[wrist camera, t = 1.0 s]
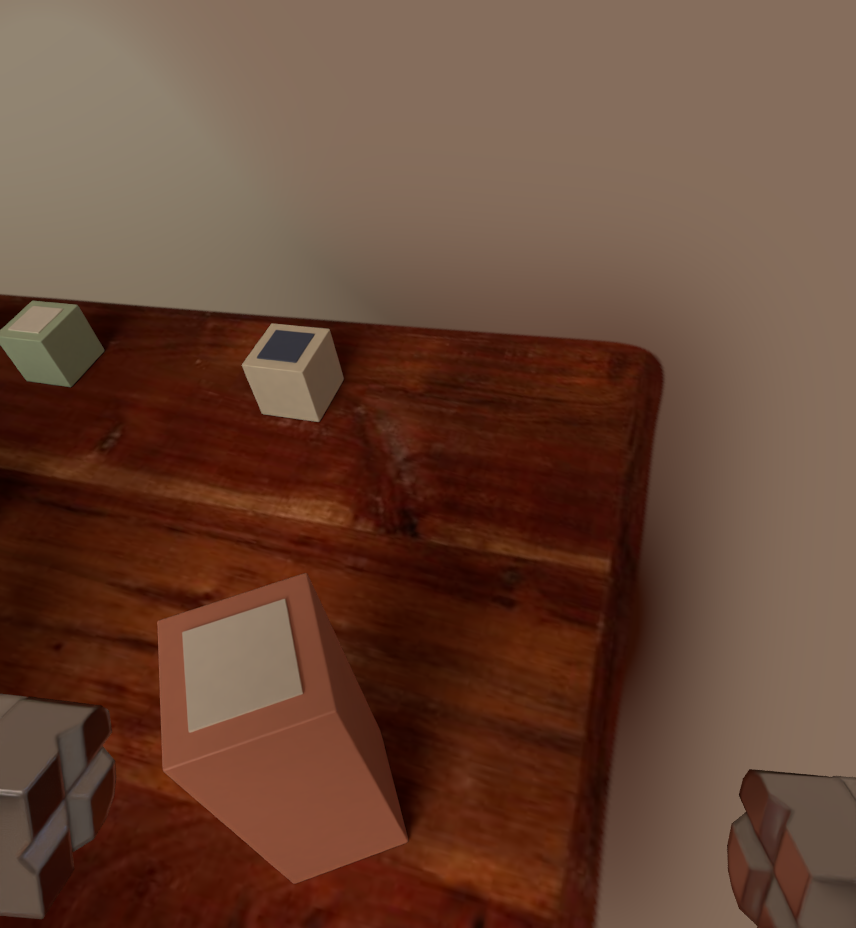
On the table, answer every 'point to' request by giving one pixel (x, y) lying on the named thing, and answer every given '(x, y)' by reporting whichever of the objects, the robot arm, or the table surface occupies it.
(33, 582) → the table surface
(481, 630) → the table surface
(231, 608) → the tall block
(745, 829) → the robot arm
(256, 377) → the block
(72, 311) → the block
